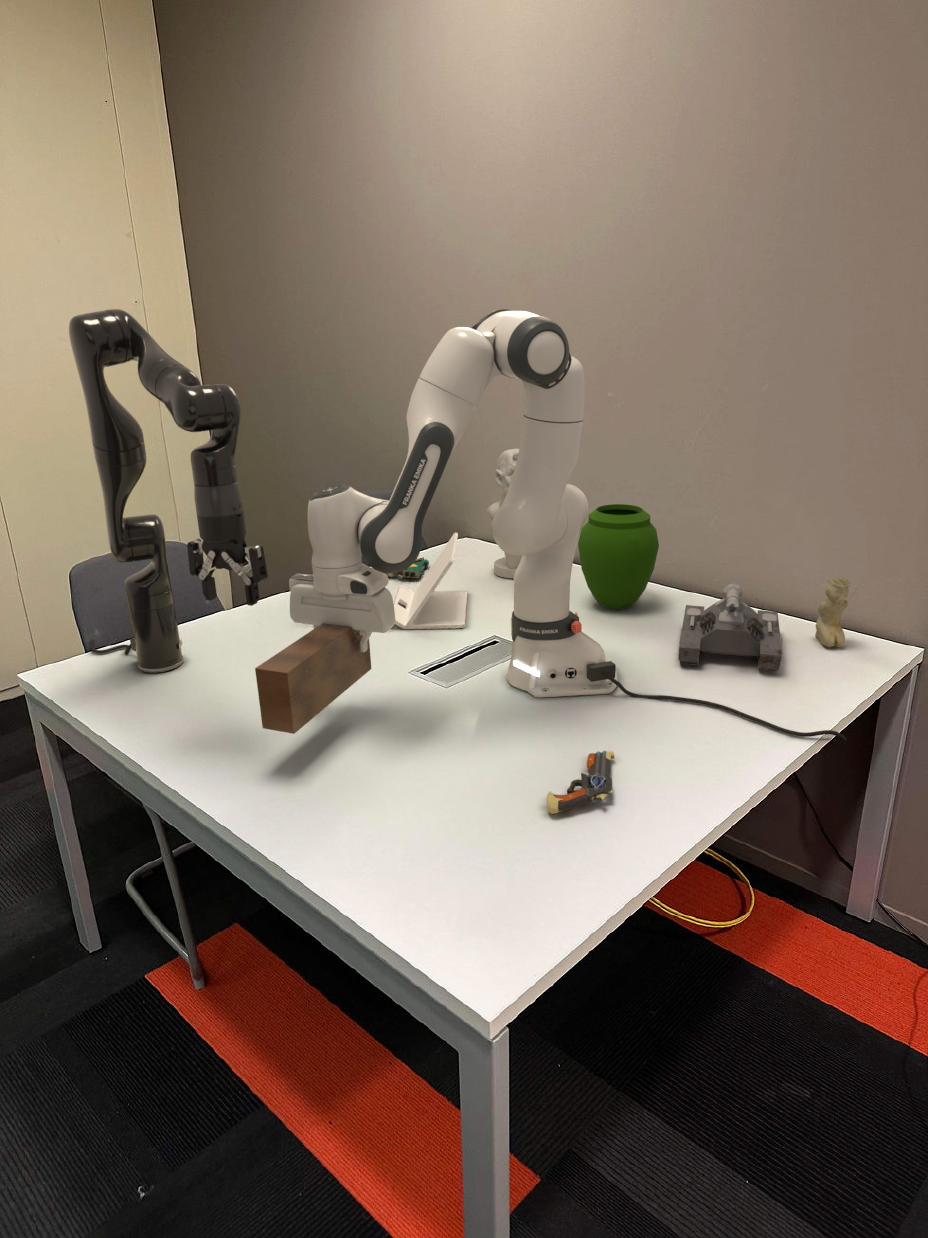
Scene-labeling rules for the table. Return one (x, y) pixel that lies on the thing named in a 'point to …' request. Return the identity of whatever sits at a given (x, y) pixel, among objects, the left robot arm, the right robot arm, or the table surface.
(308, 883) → the table surface
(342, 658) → the box
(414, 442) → the right robot arm
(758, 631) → the toy
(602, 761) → the toy gun
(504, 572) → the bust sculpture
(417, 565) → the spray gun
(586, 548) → the vase
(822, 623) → the sculpture
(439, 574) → the tablet stand
